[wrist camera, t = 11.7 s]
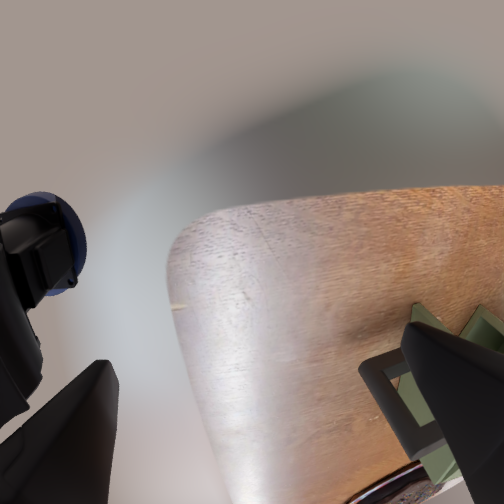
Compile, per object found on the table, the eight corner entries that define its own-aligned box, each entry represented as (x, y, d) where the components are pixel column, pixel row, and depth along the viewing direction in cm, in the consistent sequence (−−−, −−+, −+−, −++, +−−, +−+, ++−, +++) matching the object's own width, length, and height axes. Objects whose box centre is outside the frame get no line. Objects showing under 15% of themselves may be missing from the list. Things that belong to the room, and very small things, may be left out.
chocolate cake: (314, 509, 41) (323, 536, 34) (446, 435, 37) (462, 460, 31) (360, 518, 51) (368, 536, 45) (454, 463, 48) (465, 480, 42)
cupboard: (396, 411, 30) (440, 484, 19) (479, 303, 26) (550, 364, 15) (442, 413, 33) (480, 468, 22) (509, 326, 29) (562, 373, 18)
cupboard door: (339, 432, 29) (375, 517, 18) (343, 326, 23) (418, 443, 12) (397, 410, 30) (441, 484, 18) (419, 302, 24) (507, 388, 12)
